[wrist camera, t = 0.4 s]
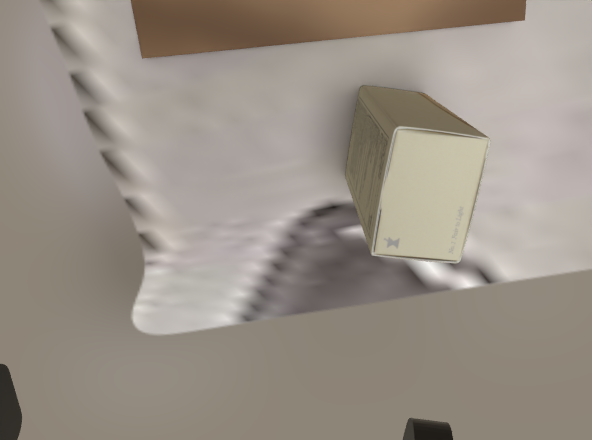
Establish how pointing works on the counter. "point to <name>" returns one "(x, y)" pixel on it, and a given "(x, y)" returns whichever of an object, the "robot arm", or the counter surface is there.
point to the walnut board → (299, 21)
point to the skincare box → (414, 175)
